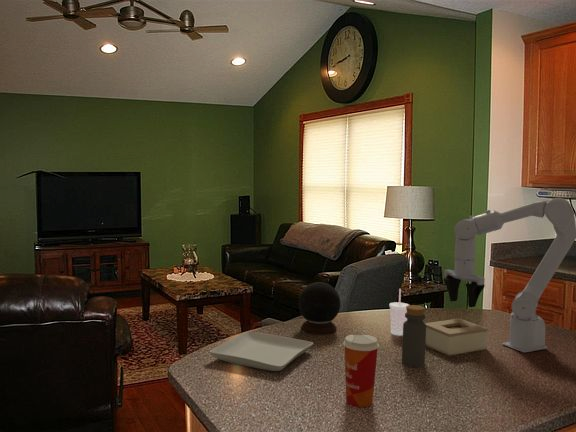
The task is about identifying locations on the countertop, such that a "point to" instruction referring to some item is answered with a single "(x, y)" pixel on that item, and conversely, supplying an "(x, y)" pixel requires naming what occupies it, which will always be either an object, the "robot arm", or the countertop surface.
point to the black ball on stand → (319, 308)
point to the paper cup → (360, 369)
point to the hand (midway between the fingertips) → (462, 303)
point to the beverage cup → (397, 316)
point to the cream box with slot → (455, 336)
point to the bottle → (414, 337)
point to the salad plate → (261, 350)
